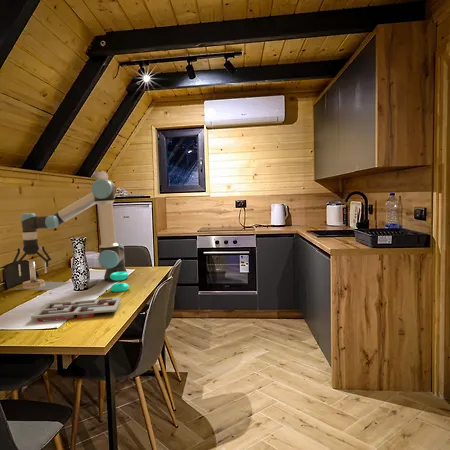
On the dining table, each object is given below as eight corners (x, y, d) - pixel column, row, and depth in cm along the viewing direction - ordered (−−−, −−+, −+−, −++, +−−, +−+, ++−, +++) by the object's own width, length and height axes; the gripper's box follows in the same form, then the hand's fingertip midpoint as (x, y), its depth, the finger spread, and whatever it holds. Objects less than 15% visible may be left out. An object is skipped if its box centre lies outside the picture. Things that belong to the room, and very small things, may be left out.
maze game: (31, 323, 145) (30, 316, 145) (47, 309, 165) (46, 303, 164) (115, 316, 151) (115, 309, 151) (121, 303, 170) (121, 297, 170)
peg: (37, 285, 206) (35, 261, 205) (34, 287, 203) (32, 262, 202) (33, 285, 207) (31, 261, 206) (29, 287, 204) (27, 262, 203)
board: (70, 284, 213) (70, 282, 213) (51, 292, 195) (51, 289, 195) (37, 284, 217) (36, 281, 217) (15, 291, 200) (14, 289, 199)
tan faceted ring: (48, 284, 209) (48, 279, 209) (35, 288, 199) (35, 283, 198) (32, 284, 211) (32, 279, 211) (19, 288, 201) (18, 283, 200)
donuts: (115, 271, 200) (131, 271, 198) (116, 287, 201) (132, 288, 199) (106, 274, 190) (122, 275, 188) (107, 292, 191) (123, 292, 189)
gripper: (53, 236, 212) (55, 270, 214) (5, 240, 200) (9, 276, 202) (53, 237, 206) (56, 272, 207) (5, 241, 193) (8, 278, 195)
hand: (33, 274), depth 204 cm, fingers open, 13 cm apart
